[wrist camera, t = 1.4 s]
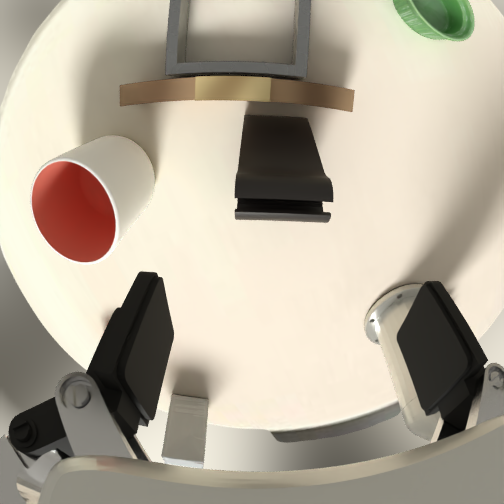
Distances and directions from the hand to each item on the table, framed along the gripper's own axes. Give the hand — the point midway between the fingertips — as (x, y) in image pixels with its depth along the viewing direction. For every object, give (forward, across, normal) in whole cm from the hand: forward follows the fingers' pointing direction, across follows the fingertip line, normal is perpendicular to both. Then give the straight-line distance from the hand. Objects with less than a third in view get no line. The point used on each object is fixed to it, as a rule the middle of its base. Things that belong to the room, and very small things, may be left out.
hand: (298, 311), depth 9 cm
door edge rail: (+21, +4, -7) cm, 22 cm away
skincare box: (+21, +13, +51) cm, 56 cm away
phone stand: (+21, 0, 0) cm, 21 cm away
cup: (+21, +17, +2) cm, 27 cm away
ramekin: (+21, -16, -21) cm, 33 cm away
